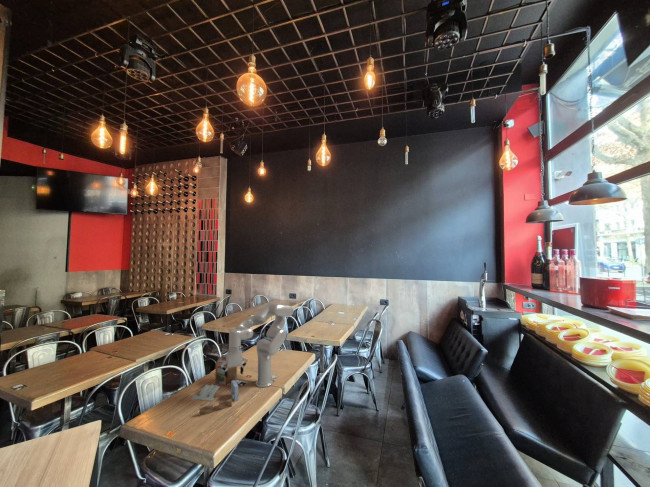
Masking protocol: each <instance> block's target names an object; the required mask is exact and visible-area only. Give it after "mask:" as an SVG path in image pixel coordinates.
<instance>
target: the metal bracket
mask: <svg viewBox="0 0 650 487" xmlns="http://www.w3.org/2000/svg"><path fill="white" fill-rule="evenodd" d="M220 387H221V386H219V385H218V384H215V385H214V383H212V384H211V385H210V384H207V383H206V384H205V385H204V386H203V387H202V389H201V390H200V391H199V392H198V393H197V395H196V394H194V395H193V396H192V397H191V400H195V401H196V400H197V401H206V402H213V401H214V399H215V396H214V395H215V393H216V392H217V391H218V390H219V388H220Z"/></svg>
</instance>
